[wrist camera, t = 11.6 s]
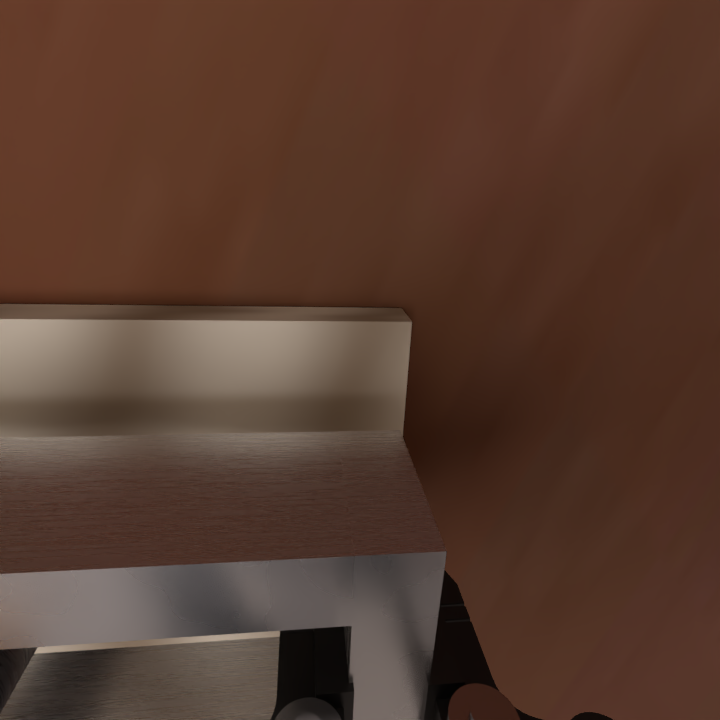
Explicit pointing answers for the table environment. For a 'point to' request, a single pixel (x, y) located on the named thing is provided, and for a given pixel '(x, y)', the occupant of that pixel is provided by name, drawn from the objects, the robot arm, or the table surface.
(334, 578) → the steel link
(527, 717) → the robot arm
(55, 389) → the beige plate with rod
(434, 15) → the table surface
